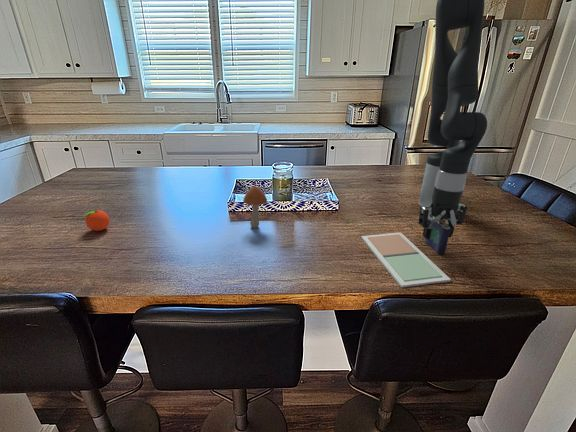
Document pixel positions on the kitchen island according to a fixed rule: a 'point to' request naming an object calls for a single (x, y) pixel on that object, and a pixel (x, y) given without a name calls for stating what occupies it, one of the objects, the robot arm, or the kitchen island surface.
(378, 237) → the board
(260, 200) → the mushroom
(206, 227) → the kitchen island surface
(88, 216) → the clementine
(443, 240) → the flask
